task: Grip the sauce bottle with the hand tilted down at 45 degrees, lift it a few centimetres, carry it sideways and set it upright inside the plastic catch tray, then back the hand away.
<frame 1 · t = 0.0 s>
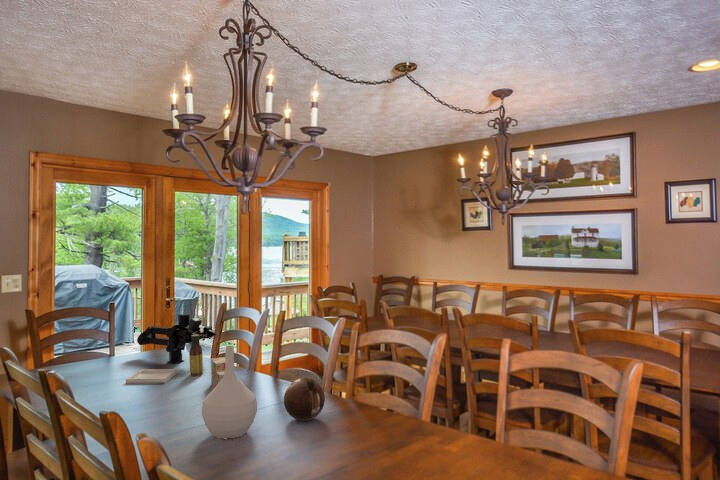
hand: (209, 335, 263), 17 cm above the table, tool horizontal, fingers open, 9 cm apart
sauce bottle: (196, 375, 247), on the table
catch tray: (152, 378, 240), on the table
vase: (229, 434, 169), on the table
wooden sphere: (304, 420, 182), on the table
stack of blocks: (221, 389, 222), on the table
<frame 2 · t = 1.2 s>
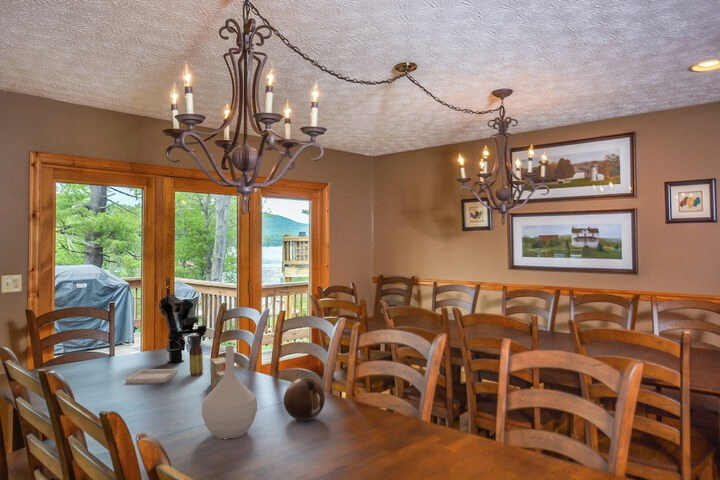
hand: (191, 345, 253), 13 cm above the table, tool tilted 45°, fingers open, 9 cm apart
nothing on the table moved.
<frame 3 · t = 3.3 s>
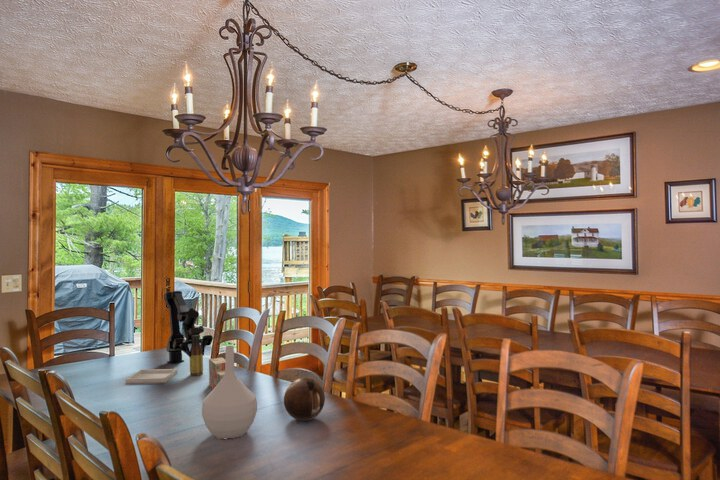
hand: (197, 355, 246), 10 cm above the table, tool tilted 45°, fingers closed on sauce bottle, 6 cm apart
sauce bottle: (196, 375, 247), on the table, touching gripper
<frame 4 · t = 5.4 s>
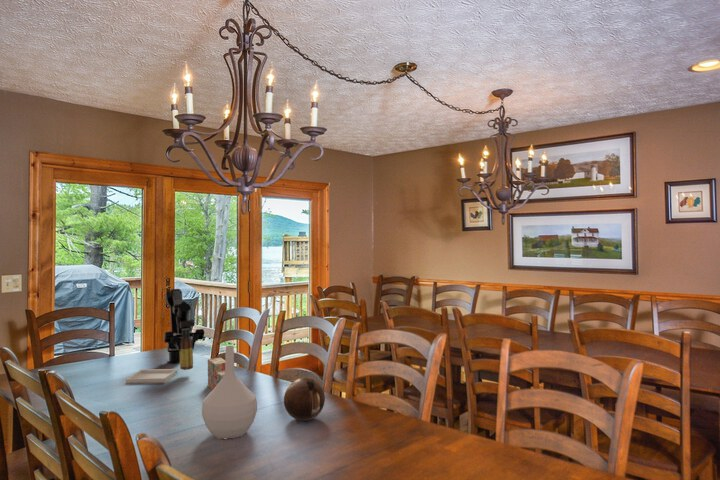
hand: (186, 349, 243), 13 cm above the table, tool tilted 45°, fingers closed on sauce bottle, 6 cm apart
sauce bottle: (186, 369, 245), point 3 cm above the table, touching gripper
when the fingers open (11 cm above the table, at t = 7.7 s): sauce bottle stays where it is, resting on catch tray.
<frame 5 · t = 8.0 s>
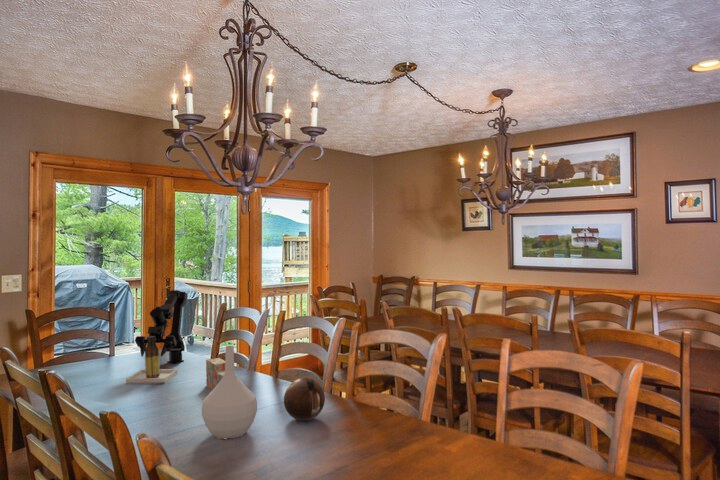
hand: (151, 356, 239), 11 cm above the table, tool tilted 45°, fingers open, 9 cm apart
sauce bottle: (152, 377, 241), resting on catch tray
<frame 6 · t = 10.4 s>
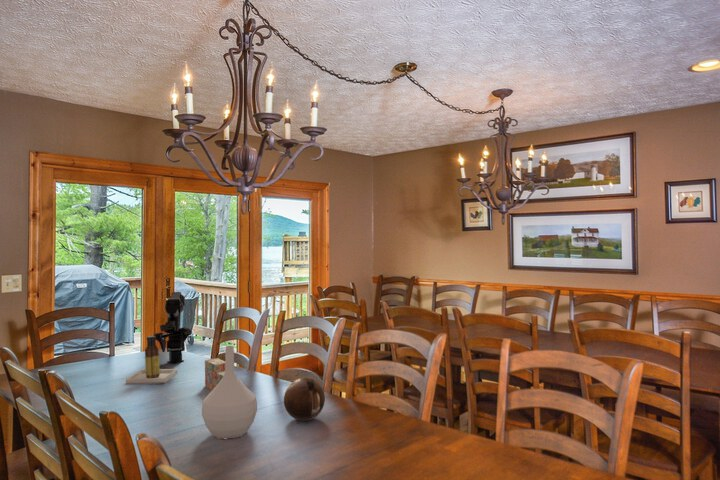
hand: (171, 350, 253), 11 cm above the table, tool tilted 30°, fingers open, 9 cm apart
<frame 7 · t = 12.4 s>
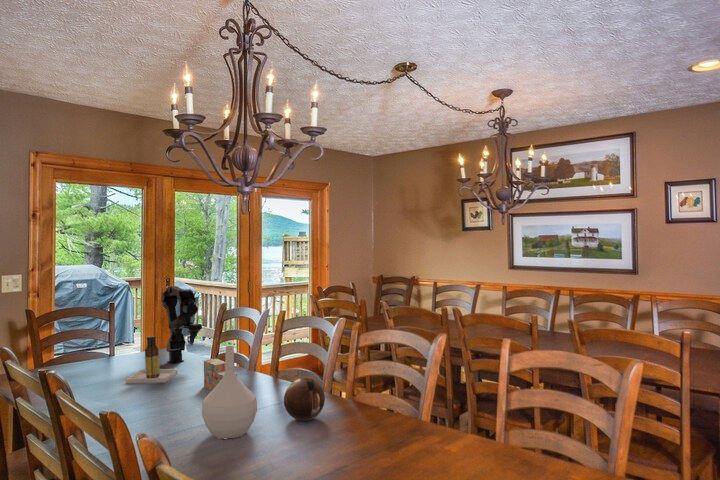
hand: (185, 342, 263), 13 cm above the table, tool pointing down, fingers open, 9 cm apart
at the end: sauce bottle inside the target area on the catch tray (0.3 cm from its centre), point 0.4 cm above the catch tray's base; sauce bottle tilted 0°; the gripper is holding nothing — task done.
